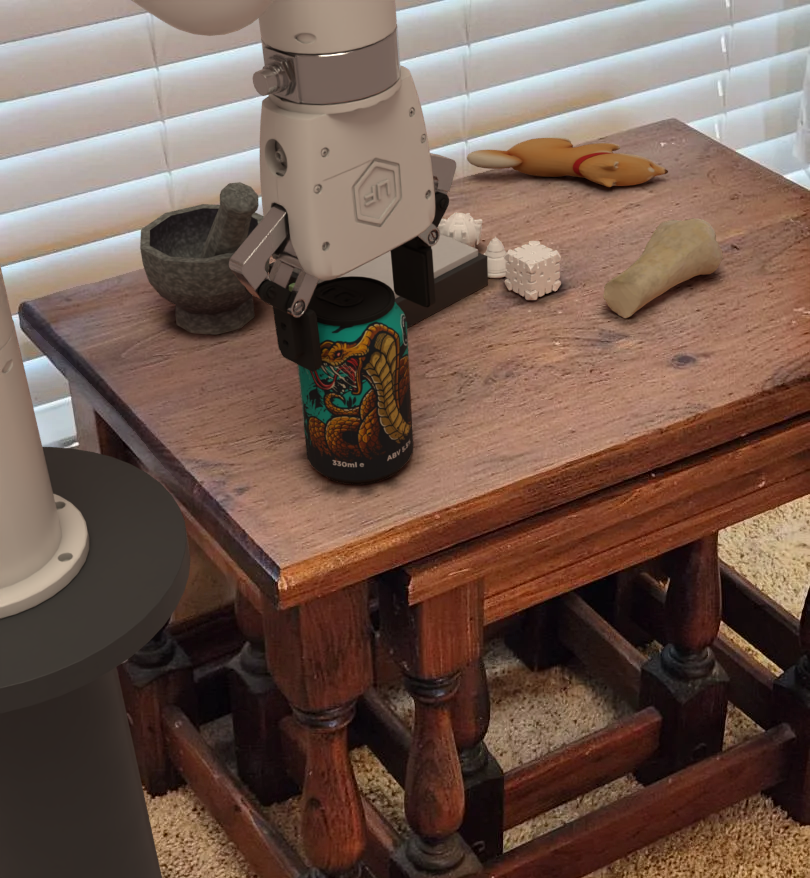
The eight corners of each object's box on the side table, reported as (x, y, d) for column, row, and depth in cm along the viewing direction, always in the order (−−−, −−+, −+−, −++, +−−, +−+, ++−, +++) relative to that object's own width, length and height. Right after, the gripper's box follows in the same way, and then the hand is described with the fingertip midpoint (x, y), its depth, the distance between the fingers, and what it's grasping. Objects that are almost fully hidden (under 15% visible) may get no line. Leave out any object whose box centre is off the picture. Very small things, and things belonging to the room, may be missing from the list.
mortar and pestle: (128, 315, 119) (102, 169, 112) (224, 272, 124) (206, 129, 117) (216, 367, 113) (195, 214, 105) (315, 319, 118) (301, 171, 110)
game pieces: (562, 290, 119) (562, 252, 117) (529, 304, 118) (529, 266, 116) (463, 238, 127) (462, 201, 125) (431, 250, 126) (430, 214, 124)
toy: (661, 176, 137) (668, 197, 132) (465, 168, 137) (465, 189, 132) (666, 139, 135) (673, 159, 131) (467, 131, 135) (467, 151, 131)
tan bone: (659, 249, 124) (663, 192, 121) (734, 265, 121) (740, 208, 118) (600, 312, 116) (603, 254, 113) (679, 331, 114) (684, 272, 111)
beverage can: (365, 503, 98) (353, 338, 91) (285, 466, 102) (267, 305, 95) (435, 452, 103) (428, 290, 95) (356, 418, 106) (343, 260, 99)
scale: (371, 347, 114) (368, 310, 112) (265, 296, 121) (261, 260, 119) (488, 285, 121) (487, 248, 119) (381, 239, 128) (379, 204, 126)
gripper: (257, 131, 79) (295, 411, 90) (488, 29, 89) (498, 294, 99) (168, 97, 84) (214, 368, 94) (396, 4, 93) (415, 260, 103)
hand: (359, 330), depth 97 cm, fingers open, 9 cm apart
